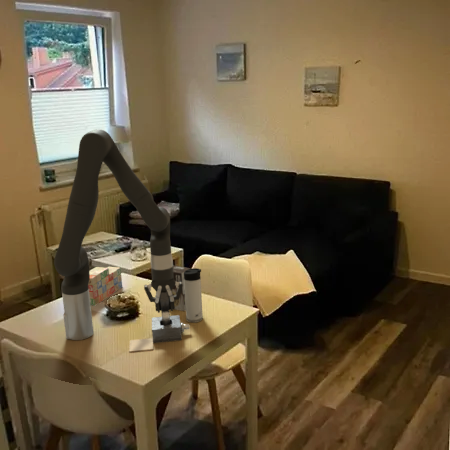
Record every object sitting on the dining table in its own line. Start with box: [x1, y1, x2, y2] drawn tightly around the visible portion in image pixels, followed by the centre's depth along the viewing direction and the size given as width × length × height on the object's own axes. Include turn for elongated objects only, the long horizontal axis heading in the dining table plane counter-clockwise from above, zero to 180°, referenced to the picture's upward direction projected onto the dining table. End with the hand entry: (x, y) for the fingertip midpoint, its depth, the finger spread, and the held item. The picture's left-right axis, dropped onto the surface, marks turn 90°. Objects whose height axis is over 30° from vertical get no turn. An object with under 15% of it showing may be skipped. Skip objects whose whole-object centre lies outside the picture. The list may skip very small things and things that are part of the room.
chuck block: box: [151, 314, 191, 344], centre depth 190 cm, size 13×10×5 cm
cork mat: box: [128, 337, 154, 353], centre depth 184 cm, size 8×8×1 cm
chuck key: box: [159, 292, 171, 325], centre depth 188 cm, size 4×4×13 cm
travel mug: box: [184, 268, 204, 323], centre depth 200 cm, size 6×7×20 cm
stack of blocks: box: [88, 266, 123, 306], centre depth 227 cm, size 21×6×12 cm, turn 159°
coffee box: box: [172, 264, 192, 312], centre depth 212 cm, size 9×6×16 cm
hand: (165, 310), depth 188 cm, fingers closed on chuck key, 4 cm apart
